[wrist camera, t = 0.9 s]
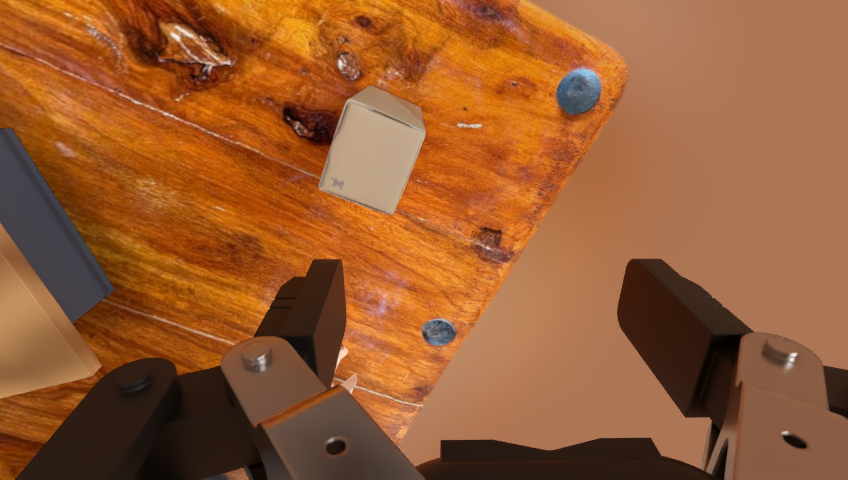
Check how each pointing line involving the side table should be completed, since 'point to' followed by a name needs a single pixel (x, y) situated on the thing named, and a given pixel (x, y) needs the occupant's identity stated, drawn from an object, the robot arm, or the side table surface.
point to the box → (373, 150)
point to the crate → (47, 233)
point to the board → (35, 330)
